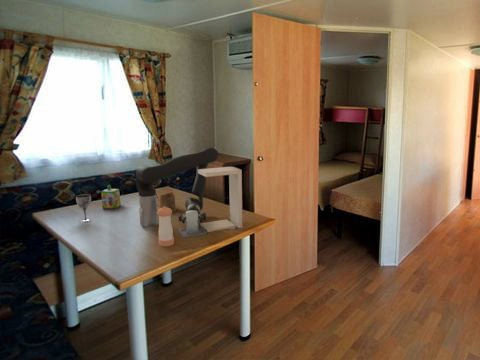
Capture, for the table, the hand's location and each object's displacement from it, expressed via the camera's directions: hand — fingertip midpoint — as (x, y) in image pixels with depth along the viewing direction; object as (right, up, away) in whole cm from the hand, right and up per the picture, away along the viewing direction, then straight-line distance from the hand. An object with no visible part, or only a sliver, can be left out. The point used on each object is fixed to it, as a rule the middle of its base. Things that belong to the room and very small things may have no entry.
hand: (192, 221), depth 180 cm
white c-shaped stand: (+13, -5, +13) cm, 19 cm away
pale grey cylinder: (0, -6, +3) cm, 7 cm away
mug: (-25, +1, +47) cm, 53 cm away
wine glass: (-66, -3, +28) cm, 72 cm away
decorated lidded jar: (-62, +3, +57) cm, 84 cm away
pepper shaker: (-11, -10, -11) cm, 19 cm away
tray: (0, -7, +3) cm, 8 cm away
